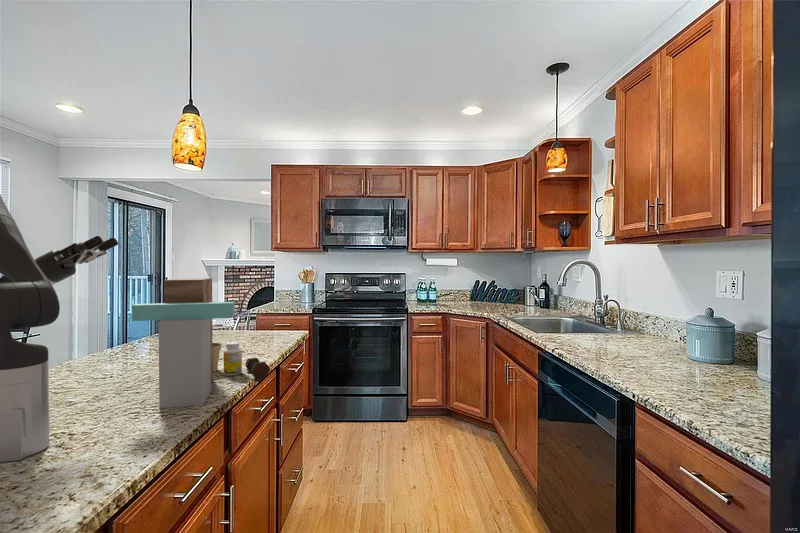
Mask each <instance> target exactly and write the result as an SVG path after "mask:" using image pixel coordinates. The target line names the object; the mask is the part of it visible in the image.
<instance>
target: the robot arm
mask: <svg viewBox="0 0 800 533" xmlns="http://www.w3.org/2000/svg"><path fill="white" fill-rule="evenodd" d="M118 245H119V242H118V241H117V239H116V238H115V237H111V238H109V239H107V240H103V239H102V237H101V236H100V235H96V236H93V237H92V238H90V239H88V240H85V241H82V242H78V243H77V242H75V243H71V244H70V245H68V246H67V247H65V248H62V249H60V250H59V249H53V250H51V251H48V252H47V253H45V254H42V255H40V256H38V257H36V258H35V259H34V257H33V255H32V253H31V252H30V250H29V248H28V246H27V244H26V242H25V239H24V237H23V235H22V233H21V231H20V229H19V226H18V225H17V223H16V221H15V219H14V217H13V216H12V215H11V212H10V211H9V209H8V207H7V205H6V204H5V201H4V200H3V197H2V194H0V274H1V275H2V276H0V463H3V462H15V461H16V462H17V461H21V460H24V459H26V458H27V457H29V456H33V455H35V454H37V453H39V452H42V451H44V450H46V449H47V448H48V447H49V446H50V441H51V440H50V392H49V390H50V386H49V385H50V384H49V383H50V382H49V381H50V380H49V379H50V378H49V377H50V375H49V374H50V373H49V349H48V347H47V346H45V345H42V344H36V343H27V342H23V341H19V340H17V339H14V338H13V335H12V330H23V329H30V328H38V327H43V326H49V325H50V324H51V325H52V324H53V323H54V322H56V320H57V319H58V317H59V315H60V309H61V308H60V307H61V306H60V301H59V297H58V294H57V291H56V290H55V288H54V285H56V284H58V283H60V282H61V281H64V280H66V279H68V278H69V277H71V276H73V275H75V274H76V273H77V268H76V265H77V264H79V265H82V264H88V263H89V262H91V261H94V260H95V259H97V258H100V257H101V256H104V255H106V254H108V250H110V249H113V248H114V247H116V246H118ZM97 250H98V251H97Z"/></svg>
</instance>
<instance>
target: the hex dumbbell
mask: <svg viewBox="0 0 800 533" xmlns="http://www.w3.org/2000/svg"><path fill="white" fill-rule="evenodd" d="M244 366H245V367H246V369H247V371H248V372H250V373H251V374H252V375H253V378H254V379H256V380H257V379H258V380H259V379H265V378H267V376H268V375H269V373H270V370H271V368H270V366H269V365H268V364H267V362H266V361H260V360H259V359H258V358H257V357H251V358H247V359H246V361H245V365H244Z"/></svg>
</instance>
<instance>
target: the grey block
mask: <svg viewBox="0 0 800 533" xmlns="http://www.w3.org/2000/svg"><path fill="white" fill-rule="evenodd" d="M211 383H212V382H211V371H210V319H182V320H158V388H159V389H158V392H159V393H158V401H159V403H158V404H159V406H158V409H167V408H169V409H170V408H181V407H182V408H183V407H194V406H203V405H204V404H205V402H206V400H207V399H208V397H209V396H210V394H212V392H211V387H212V386H211Z"/></svg>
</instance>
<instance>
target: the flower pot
mask: <svg viewBox="0 0 800 533" xmlns="http://www.w3.org/2000/svg"><path fill="white" fill-rule="evenodd" d="M222 346H223V343H220V342H212V347H213V373H214V372H216V371H217V370H218V367H219V361H220V353H221V350H222Z"/></svg>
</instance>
